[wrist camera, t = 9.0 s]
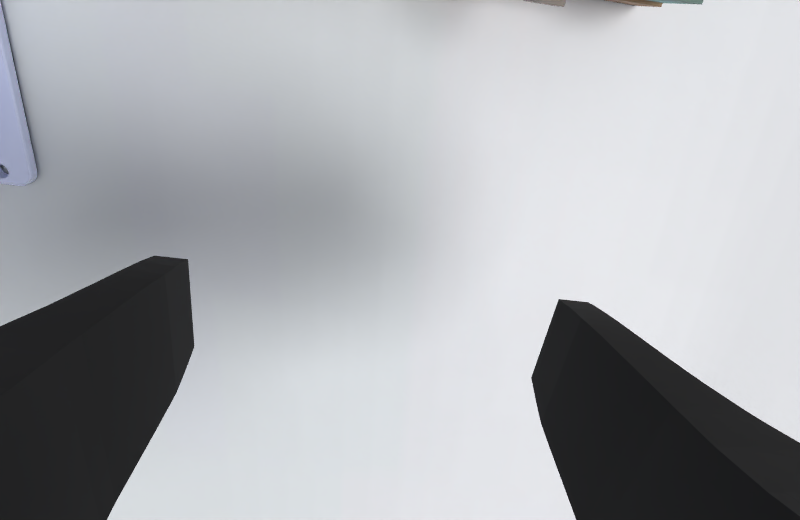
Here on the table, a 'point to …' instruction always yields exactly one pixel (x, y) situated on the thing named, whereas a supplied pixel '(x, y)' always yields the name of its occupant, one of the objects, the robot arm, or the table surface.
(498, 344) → the table surface
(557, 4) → the beige block with rod
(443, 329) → the table surface
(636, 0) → the board
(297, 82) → the table surface
